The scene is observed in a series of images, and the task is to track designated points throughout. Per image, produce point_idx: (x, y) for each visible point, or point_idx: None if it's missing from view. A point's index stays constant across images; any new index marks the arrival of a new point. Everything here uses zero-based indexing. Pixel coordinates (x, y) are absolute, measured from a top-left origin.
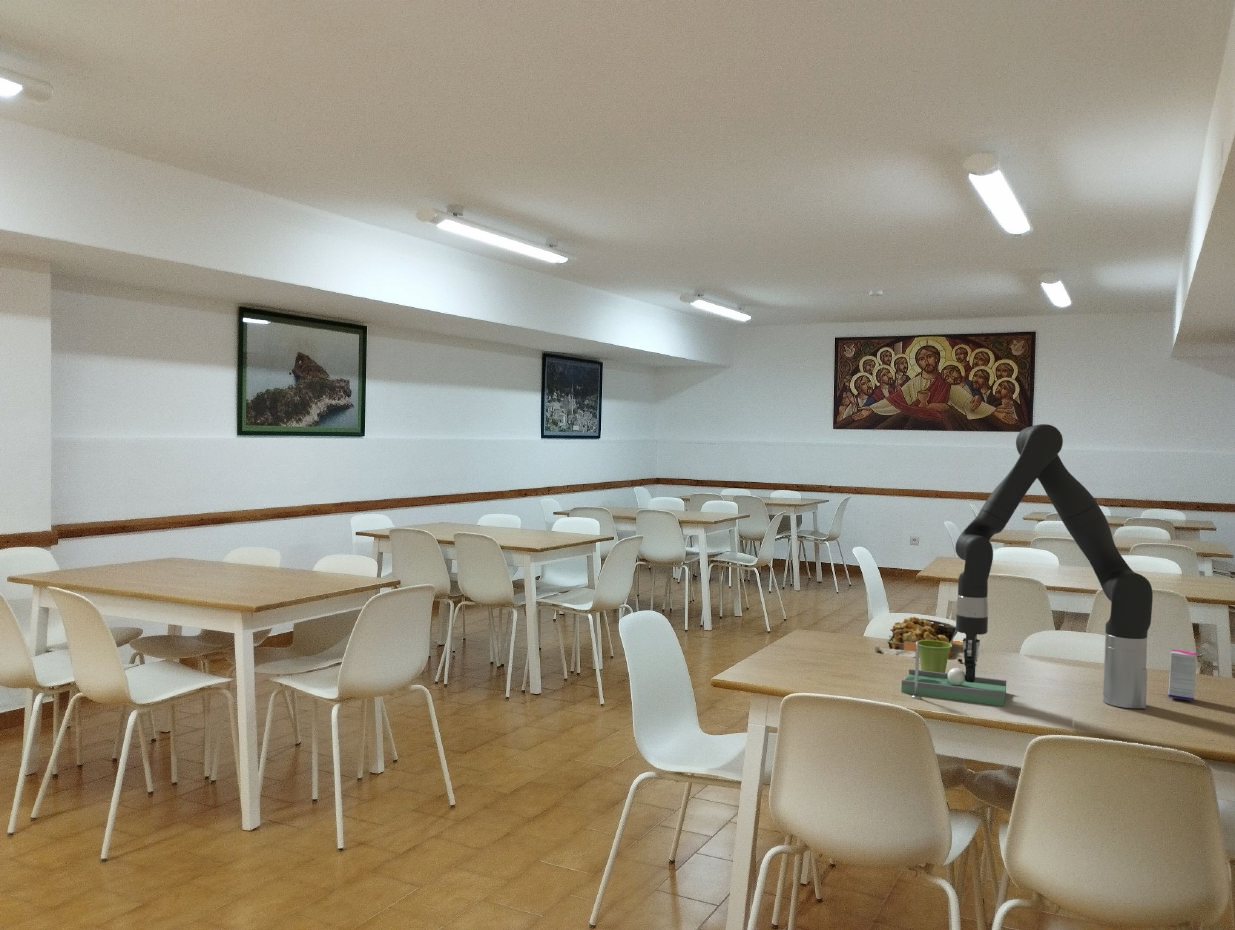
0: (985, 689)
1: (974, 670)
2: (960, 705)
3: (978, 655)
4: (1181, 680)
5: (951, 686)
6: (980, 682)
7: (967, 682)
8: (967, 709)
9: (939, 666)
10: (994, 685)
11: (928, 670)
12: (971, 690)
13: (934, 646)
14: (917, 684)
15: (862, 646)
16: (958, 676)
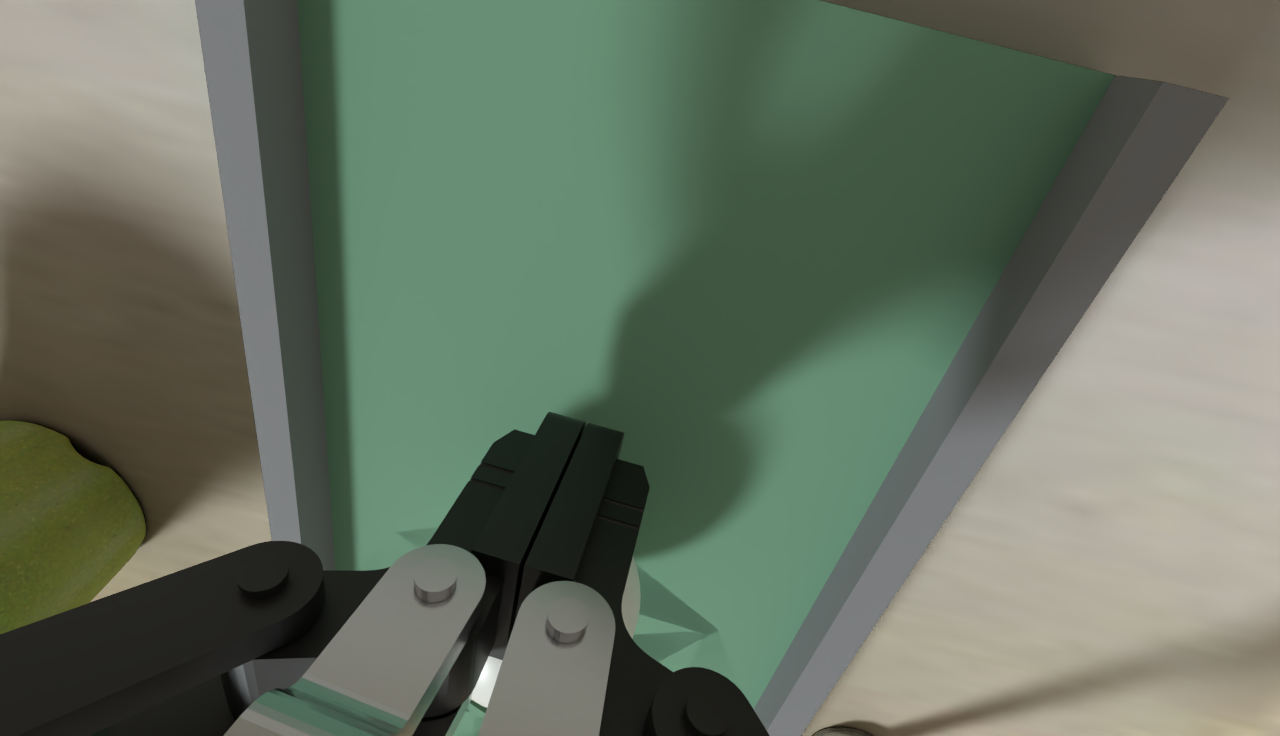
0: (658, 265)
1: (584, 554)
2: (1052, 541)
3: (258, 724)
4: None
5: (839, 665)
6: (311, 249)
7: (388, 393)
8: (1223, 522)
9: (32, 541)
10: (370, 81)
11: (110, 572)
12: (940, 508)
13: None
14: None
15: None
16: (628, 629)
